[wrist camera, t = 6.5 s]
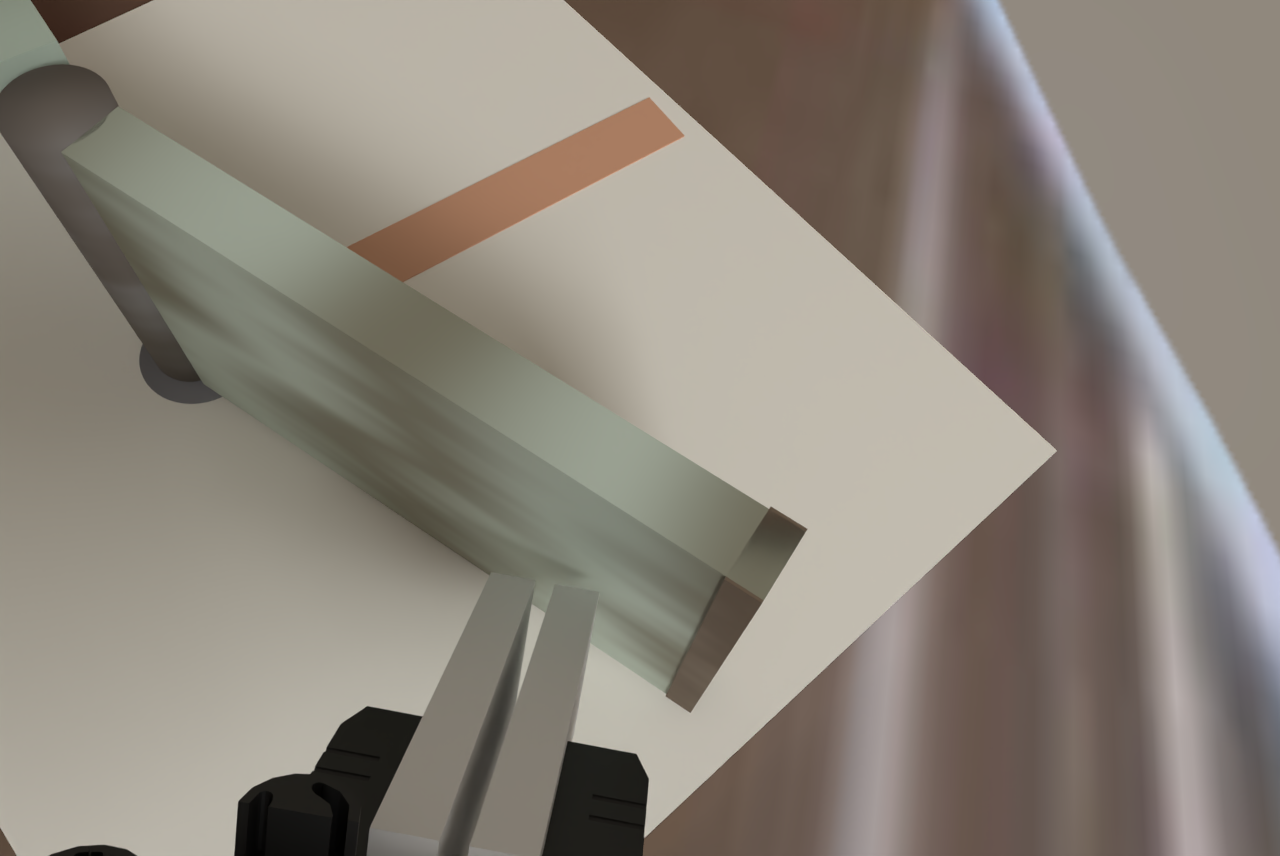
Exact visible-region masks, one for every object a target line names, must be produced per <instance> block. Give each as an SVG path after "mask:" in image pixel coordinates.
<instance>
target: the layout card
mask: <svg viewBox="0 0 1280 856" xmlns="http://www.w3.org/2000/svg"><path fill="white" fill-rule="evenodd" d="M59 45H60V47H61V49H62V51H63V53H64V54H65V56H66V58H67V60H68V62H69V64H70V65H75V66H80V67H84V68H86V69H89V70H91V71H93V72H95V73H97V74H98V75H99V76H101V77H102V78H103V79H104V80H105V81H106V83H107V84H108V86H109V88H110V90H111V92H112V94H113V95H114V97H115V99H116V101H117V103H118V105H119V107H120V108H122V109H124V110H125V111H127V112H128V113H130V114H132V115H133V116H135V117H136V118H138V119H140V120H141V121H143V122H145V123H146V124H148V125H149V126H151V127H153V128H154V129H156V130H157V131H159V132H161V133H162V134H164V135H166V136H167V137H169V138H170V139H172V140H174V141H175V142H177V143H178V144H180V145H182V146H183V147H185V148H187V149H188V150H190V151H191V152H193V153H195V154H196V155H198V156H199V157H201V158H203V159H204V160H206V161H208V162H209V163H211V164H212V165H214V166H216V167H217V168H219V169H220V170H222V171H224V172H225V173H227V174H229V175H230V176H232V177H233V178H235V179H237V180H238V181H240V182H242V183H243V184H245V185H246V186H248V187H250V188H251V189H253V190H254V191H256V192H258V193H259V194H261V195H263V196H264V197H266V198H267V199H269V200H271V201H272V202H274V203H275V204H277V205H279V206H280V207H282V208H284V209H285V210H287V211H288V212H290V213H292V214H293V215H295V216H296V217H298V218H300V219H301V220H303V221H305V222H306V223H308V224H309V225H311V226H313V227H314V228H316V229H317V230H319V231H321V232H322V233H324V234H326V235H327V236H329V237H330V238H332V239H334V240H335V241H337V242H338V243H340V244H342V245H343V246H345V247H347V248H348V249H350V250H351V251H353V252H355V253H356V254H358V255H359V256H361V257H363V258H364V259H366V260H368V261H369V262H371V263H372V264H374V265H376V266H377V267H379V268H380V269H382V270H384V271H385V272H387V273H389V274H390V275H392V276H393V277H395V278H397V279H398V280H400V281H401V282H403V283H405V284H406V285H408V286H410V287H411V288H413V289H414V290H416V291H418V292H419V293H421V294H422V295H424V296H426V297H427V298H429V299H431V300H432V301H434V302H435V303H437V304H439V305H440V306H442V307H444V308H445V309H447V310H448V311H450V312H452V313H453V314H455V315H456V316H458V317H460V318H461V319H463V320H465V321H466V322H468V323H469V324H471V325H473V326H474V327H476V328H477V329H479V330H481V331H482V332H484V333H486V334H487V335H489V336H490V337H492V338H494V339H495V340H497V341H498V342H500V343H502V344H503V345H505V346H507V347H508V348H510V349H511V350H513V351H515V352H516V353H518V354H519V355H521V356H523V357H524V358H526V359H528V360H529V361H531V362H532V363H534V364H536V365H537V366H539V367H540V368H542V369H544V370H545V371H547V372H549V373H550V374H552V375H553V376H555V377H557V378H558V379H560V380H561V381H563V382H565V383H566V384H568V385H570V386H571V387H573V388H574V389H576V390H578V391H579V392H581V393H582V394H584V395H586V396H587V397H589V398H591V399H592V400H594V401H595V402H597V403H599V404H600V405H602V406H603V407H605V408H607V409H608V410H610V411H612V412H613V413H615V414H616V415H618V416H620V417H621V418H623V419H625V420H626V421H628V422H629V423H631V424H633V425H634V426H636V427H637V428H639V429H641V430H642V431H644V432H646V433H647V434H649V435H650V436H652V437H654V438H655V439H657V440H658V441H660V442H662V443H663V444H665V445H667V446H668V447H670V448H671V449H673V450H675V451H676V452H678V453H679V454H681V455H683V456H684V457H686V458H688V459H689V460H691V461H692V462H694V463H696V464H697V465H699V466H700V467H702V468H704V469H705V470H707V471H709V472H710V473H712V474H713V475H715V476H717V477H718V478H720V479H721V480H723V481H725V482H726V483H728V484H730V485H731V486H733V487H734V488H736V489H738V490H739V491H741V492H742V493H744V494H746V495H747V496H749V497H751V498H752V499H754V500H755V501H757V502H759V503H760V504H762V505H763V506H765V507H767V508H768V509H769V508H770V507H773V508H774V509H776V510H778V511H779V512H781V513H783V514H784V515H786V516H787V517H789V518H791V519H792V520H794V521H795V522H797V523H799V524H800V525H802V526H804V527H805V528H807V531H806V532H805V534H804V536H803V537H802V539H801V541H800V542H799V544H798V546H797V547H796V549H795V550H794V552H793V554H792V555H791V557H790V559H789V560H788V562H787V563H786V565H785V567H784V568H783V570H782V572H781V573H780V575H779V577H778V578H777V580H776V581H775V583H774V585H773V586H772V588H771V590H770V591H769V593H768V594H767V596H766V598H765V599H764V601H763V603H762V604H761V606H760V607H759V609H758V610H757V612H756V613H755V615H754V616H753V618H752V620H751V621H750V623H749V624H748V626H747V627H746V629H745V630H744V632H743V633H742V635H741V636H740V638H739V639H738V641H737V643H736V644H735V646H734V647H733V649H732V650H731V652H730V653H729V655H728V656H727V658H726V659H725V661H724V662H723V664H722V666H721V667H720V669H719V670H718V672H717V673H716V675H715V676H714V678H713V679H712V681H711V682H710V684H709V685H708V687H707V689H706V690H705V692H704V693H703V695H702V696H701V698H700V699H699V701H698V702H697V704H696V705H695V707H694V708H693V710H692V711H691V713H690V712H688V711H687V710H685V709H684V708H682V707H681V706H679V705H678V704H676V703H675V702H673V701H672V700H670V699H669V698H667V697H666V693H664V692H663V691H661V690H660V689H658V688H657V687H655V686H654V685H652V684H651V683H649V682H648V681H646V680H645V679H643V678H642V677H640V676H639V675H637V674H636V673H634V672H633V671H631V670H630V669H628V668H627V667H625V666H624V665H622V664H621V663H619V662H618V661H616V660H615V659H613V658H612V657H610V656H609V655H607V654H606V653H604V652H603V651H601V650H600V649H598V648H597V647H595V646H594V645H592V644H591V643H590V647H589V653H588V658H587V664H586V670H585V675H584V681H583V686H582V692H581V697H580V703H579V709H578V714H577V720H576V725H575V731H574V736H573V740H572V742H576V743H581V744H587V745H592V746H597V747H603V748H608V749H613V750H619V751H624V752H629V753H635V754H637V756H638V758H639V760H640V762H641V764H642V766H643V768H644V770H645V772H646V774H647V776H648V778H649V785H648V797H647V806H646V820H645V828H644V831H645V832H644V838H645V837H646V836H647V835H648V834H649V833H650V832H651V831H652V830H653V829H654V828H656V827H657V826H658V825H659V824H660V823H661V822H662V821H663V820H664V819H665V818H666V817H667V816H668V815H669V814H670V813H671V812H673V811H674V810H675V809H676V808H677V807H678V806H679V805H680V804H681V803H682V802H683V801H684V800H685V799H686V798H687V797H689V796H690V795H691V794H692V793H693V792H694V791H695V790H696V789H697V788H698V787H699V786H700V785H701V784H702V783H703V782H705V781H706V780H707V779H708V778H709V777H710V776H711V775H712V774H713V773H714V772H715V771H716V770H717V769H718V768H719V767H721V766H722V765H723V764H724V763H725V762H726V761H727V760H728V759H729V758H730V757H731V756H732V755H733V754H734V753H735V752H737V751H738V750H739V749H740V748H741V747H742V746H743V745H744V744H745V743H746V742H747V741H748V740H749V739H750V738H751V737H753V736H754V735H755V734H756V733H757V732H758V731H759V730H760V729H761V728H762V727H763V726H764V725H765V724H766V723H767V722H769V721H770V720H771V719H772V718H773V717H774V716H775V715H776V714H777V713H778V712H779V711H780V710H781V709H782V708H783V707H785V706H786V705H787V704H788V703H789V702H790V701H791V700H792V699H793V698H794V697H795V696H796V695H797V694H798V693H799V692H801V691H802V690H803V689H804V688H805V687H806V686H807V685H808V684H809V683H810V682H811V681H812V680H813V679H814V678H815V677H816V676H818V675H819V674H820V673H821V672H822V671H823V670H824V669H825V668H826V667H827V666H828V665H829V664H830V663H831V662H832V661H834V660H835V659H836V658H837V657H838V656H839V655H840V654H841V653H842V652H843V651H844V650H845V649H846V648H847V647H848V646H850V645H851V644H852V643H853V642H854V641H855V640H856V639H857V638H858V637H859V636H860V635H861V634H862V633H863V632H864V631H866V630H867V629H868V628H869V627H870V626H871V625H872V624H873V623H874V622H875V621H876V620H877V619H878V618H879V617H880V616H882V615H883V614H884V613H885V612H886V611H887V610H888V609H889V608H890V607H891V606H892V605H893V604H894V603H895V602H896V601H898V600H899V599H900V598H901V597H902V596H903V595H904V594H905V593H906V592H907V591H908V590H909V589H910V588H911V587H912V586H914V585H915V584H916V583H917V582H918V581H919V580H920V579H921V578H922V577H923V576H924V575H925V574H926V573H927V572H928V571H930V570H931V569H932V568H933V567H934V566H935V565H936V564H937V563H938V562H939V561H940V560H941V559H942V558H943V557H944V556H946V555H947V554H948V553H949V552H950V551H951V550H952V549H953V548H954V547H955V546H956V545H957V544H958V543H959V542H960V541H961V540H963V539H964V538H965V537H966V536H967V535H968V534H969V533H970V532H971V531H972V530H973V529H974V528H975V527H976V526H977V525H979V524H980V523H981V522H982V521H983V520H984V519H985V518H986V517H987V516H988V515H989V514H990V513H991V512H992V511H993V510H995V509H996V508H997V507H998V506H999V505H1000V504H1001V503H1002V502H1003V501H1004V500H1005V499H1006V498H1007V497H1008V496H1009V495H1011V494H1012V493H1013V492H1014V491H1015V490H1016V489H1017V488H1018V487H1019V486H1020V485H1021V484H1022V483H1023V482H1024V481H1025V480H1027V479H1028V478H1029V477H1030V476H1031V475H1032V474H1033V473H1034V472H1035V471H1036V470H1037V469H1038V468H1039V467H1040V466H1041V465H1043V464H1044V463H1045V462H1046V461H1047V460H1048V459H1049V458H1050V457H1051V456H1052V455H1053V454H1054V453H1055V452H1056V451H1057V450H1056V449H1055V448H1053V447H1052V446H1051V445H1050V444H1049V443H1048V442H1047V441H1046V440H1045V439H1044V438H1042V437H1041V436H1040V435H1039V434H1038V433H1037V432H1036V431H1035V430H1034V429H1033V428H1032V427H1030V426H1029V425H1028V424H1027V423H1026V422H1025V421H1024V420H1023V419H1022V418H1021V417H1019V416H1018V415H1017V414H1016V413H1015V412H1014V411H1013V410H1012V409H1011V408H1010V407H1009V406H1007V405H1006V404H1005V403H1004V402H1003V401H1002V400H1001V399H1000V398H999V397H998V396H996V395H995V394H994V393H993V392H992V391H991V390H990V389H989V388H988V387H987V386H986V385H984V384H983V383H982V382H981V381H980V380H979V379H978V378H977V377H976V376H975V375H973V374H972V373H971V372H970V371H969V370H968V369H967V368H966V367H965V366H964V365H963V364H961V363H960V362H959V361H958V360H957V359H956V358H955V357H954V356H953V355H952V354H950V353H949V352H948V351H947V350H946V349H945V348H944V347H943V346H942V345H941V344H940V343H938V342H937V341H936V340H935V339H934V338H933V337H932V336H931V335H930V334H929V333H927V332H926V331H925V330H924V329H923V328H922V327H921V326H920V325H919V324H918V323H917V322H915V321H914V320H913V319H912V318H911V317H910V316H909V315H908V314H907V313H906V312H904V311H903V310H902V309H901V308H900V307H899V306H898V305H897V304H896V303H895V302H894V301H892V300H891V299H890V298H889V297H888V296H887V295H886V294H885V293H884V292H883V291H881V290H880V289H879V288H878V287H877V286H876V285H875V284H874V283H873V282H872V281H871V280H869V279H868V278H867V277H866V276H865V275H864V274H863V273H862V272H861V271H860V270H858V269H857V268H856V267H855V266H854V265H853V264H852V263H851V262H850V261H849V260H848V259H846V258H845V257H844V256H843V255H842V254H841V253H840V252H839V251H838V250H837V249H835V248H834V247H833V246H832V245H831V244H830V243H829V242H828V241H827V240H826V239H825V238H823V237H822V236H821V235H820V234H819V233H818V232H817V231H816V230H815V229H814V228H812V227H811V226H810V225H809V224H808V223H807V222H806V221H805V220H804V219H803V218H802V217H800V216H799V215H798V214H797V213H796V212H795V211H794V210H793V209H792V208H791V207H789V206H788V205H787V204H786V203H785V202H784V201H783V200H782V199H781V198H780V197H779V196H777V195H776V194H775V193H774V192H773V191H772V190H771V189H770V188H769V187H768V186H766V185H765V184H764V183H763V182H762V181H761V180H760V179H759V178H758V177H757V176H756V175H754V174H753V173H752V172H751V171H750V170H749V169H748V168H747V167H746V166H745V165H743V164H742V163H741V162H740V161H739V160H738V159H737V158H736V157H735V156H734V155H733V154H731V153H730V152H729V151H728V150H727V149H726V148H725V147H724V146H723V145H722V144H720V143H719V142H718V141H717V140H716V139H715V138H714V137H713V136H712V135H711V134H710V133H708V132H707V131H706V130H705V129H704V128H703V127H702V126H701V125H700V124H699V123H697V122H696V121H695V120H694V119H693V118H692V117H691V116H690V115H689V114H688V113H687V112H685V111H684V110H683V109H682V108H681V107H680V106H679V105H678V104H677V103H676V102H674V101H673V100H672V99H671V98H670V97H669V96H668V95H667V94H666V93H665V92H664V91H662V90H661V89H660V88H659V87H658V86H657V85H656V84H655V83H654V82H653V81H651V80H650V79H649V78H648V77H647V76H646V75H645V74H644V73H643V72H642V71H641V70H639V69H638V68H637V67H636V66H635V65H634V64H633V63H632V62H631V61H630V60H628V59H627V58H626V57H625V56H624V55H623V54H622V53H621V52H620V51H619V50H618V49H616V48H615V47H614V46H613V45H612V44H611V43H610V42H609V41H608V40H607V39H605V38H604V37H603V36H602V35H601V34H600V33H599V32H598V31H597V30H596V29H595V28H593V27H592V26H591V25H590V24H589V23H588V22H587V21H586V20H585V19H584V18H582V17H581V16H580V15H579V14H578V13H577V12H576V11H575V10H574V9H573V8H572V7H570V6H569V5H568V4H567V3H566V2H565V1H564V0H153V1H151V2H149V3H147V4H144V5H142V6H140V7H138V8H136V9H133V10H131V11H129V12H127V13H125V14H123V15H120V16H118V17H116V18H114V19H112V20H109V21H107V22H105V23H103V24H101V25H98V26H96V27H94V28H92V29H90V30H88V31H85V32H83V33H81V34H79V35H77V36H74V37H72V38H70V39H68V40H66V41H63V42H61V43H59ZM488 578H489V575H488V574H486V573H485V572H483V571H482V570H481V569H479V568H478V567H476V566H475V565H473V564H472V563H470V562H469V561H467V560H466V559H464V558H463V557H461V556H460V555H458V554H457V553H455V552H454V551H452V550H451V549H449V548H448V547H446V546H445V545H443V544H442V543H440V542H439V541H437V540H436V539H434V538H433V537H431V536H430V535H428V534H427V533H425V532H424V531H422V530H421V529H419V528H418V527H416V526H415V525H413V524H412V523H410V522H409V521H407V520H406V519H404V518H403V517H401V516H400V515H398V514H397V513H395V512H394V511H392V510H391V509H389V508H388V507H386V506H385V505H383V504H382V503H380V502H379V501H377V500H376V499H375V498H373V497H372V496H370V495H369V494H367V493H366V492H364V491H363V490H361V489H360V488H358V487H357V486H355V485H354V484H352V483H351V482H349V481H348V480H346V479H345V478H343V477H342V476H340V475H339V474H337V473H336V472H334V471H333V470H331V469H330V468H328V467H327V466H325V465H324V464H322V463H321V462H319V461H318V460H316V459H315V458H313V457H312V456H310V455H309V454H307V453H306V452H304V451H303V450H301V449H300V448H298V447H297V446H295V445H294V444H292V443H291V442H289V441H288V440H286V439H285V438H283V437H282V436H280V435H279V434H277V433H276V432H274V431H273V430H271V429H270V428H269V427H267V426H266V425H264V424H263V423H261V422H260V421H258V420H257V419H255V418H254V417H252V416H251V415H249V414H248V413H246V412H245V411H243V410H242V409H240V408H239V407H237V406H236V405H234V404H233V403H231V402H230V401H228V400H227V399H225V398H224V397H222V396H221V395H219V394H218V393H216V392H215V391H213V390H212V389H210V388H209V387H207V386H206V385H204V384H203V382H202V381H194V382H185V381H179V380H175V379H173V378H171V377H169V376H167V375H166V374H164V373H163V372H162V371H161V370H160V369H159V367H158V366H157V364H156V363H155V361H154V360H153V358H152V357H151V355H150V354H149V352H148V351H147V349H146V348H145V346H144V345H143V343H142V342H141V341H140V339H139V338H138V336H137V335H136V333H135V332H134V330H133V329H132V327H131V326H130V324H129V323H128V321H127V320H126V318H125V317H124V315H123V314H122V312H121V311H120V309H119V308H118V306H117V305H116V303H115V302H114V301H113V299H112V298H111V296H110V295H109V293H108V292H107V290H106V289H105V287H104V286H103V284H102V283H101V281H100V280H99V278H98V277H97V275H96V274H95V272H94V271H93V269H92V268H91V266H90V265H89V263H88V262H87V261H86V259H85V258H84V256H83V255H82V253H81V252H80V250H79V249H78V247H77V246H76V244H75V243H74V241H73V240H72V238H71V237H70V235H69V234H68V232H67V231H66V229H65V228H64V226H63V225H62V223H61V222H60V220H59V219H58V218H57V216H56V215H55V213H54V212H53V210H52V209H51V207H50V206H49V204H48V203H47V201H46V200H45V198H44V197H43V195H42V194H41V192H40V191H39V189H38V188H37V186H36V185H35V183H34V182H33V180H32V179H31V178H30V176H29V175H28V173H27V172H26V170H25V169H24V167H23V166H22V164H21V163H20V161H19V160H18V158H17V157H16V155H15V154H14V152H13V151H12V149H11V148H10V146H9V145H8V143H7V142H6V140H5V139H4V138H3V136H2V135H1V133H0V828H1V830H2V831H3V833H4V835H5V836H6V838H7V840H8V841H9V843H10V845H11V846H12V848H13V850H14V851H15V853H16V855H17V856H49V855H51V854H53V853H57V852H60V851H63V850H67V849H70V848H74V847H77V846H89V845H109V846H114V847H119V848H123V849H127V850H129V851H130V852H132V853H134V854H135V855H137V856H234V851H235V837H236V823H237V809H238V801H239V800H240V799H241V798H242V797H243V796H244V795H245V794H246V793H247V792H248V791H249V790H250V789H251V788H252V787H254V786H256V785H258V784H261V783H263V782H265V781H267V780H269V779H271V778H274V777H280V776H285V775H290V774H295V773H297V774H311V772H312V771H314V769H315V765H316V764H317V762H318V760H319V759H320V757H321V756H322V754H323V752H325V751H326V748H327V746H328V744H329V742H330V741H331V739H332V737H333V736H334V734H335V732H336V731H337V729H338V727H339V726H340V724H341V723H343V722H344V721H346V720H347V719H349V718H350V717H352V716H353V715H355V714H356V713H358V712H359V711H361V710H362V709H364V708H365V707H367V706H370V707H375V708H381V709H386V710H391V711H397V712H402V713H407V714H413V715H418V716H423V715H424V712H425V710H426V708H427V706H428V704H429V702H430V700H431V698H432V696H433V694H434V691H435V689H436V687H437V685H438V683H439V681H440V679H441V677H442V675H443V672H444V670H445V668H446V666H447V664H448V662H449V660H450V658H451V656H452V654H453V651H454V649H455V647H456V645H457V643H458V641H459V639H460V637H461V635H462V632H463V630H464V628H465V626H466V624H467V622H468V620H469V618H470V616H471V614H472V611H473V609H474V607H475V605H476V603H477V601H478V599H479V597H480V595H481V593H482V590H483V588H484V586H485V584H486V582H487V580H488ZM544 616H545V612H543V611H542V610H540V609H539V608H537V607H536V606H534V605H533V604H532V606H531V612H530V618H529V624H528V631H527V637H526V643H525V650H524V656H523V662H522V669H521V675H520V681H519V687H518V694H517V699H518V696H519V693H520V690H521V687H522V684H523V681H524V678H525V675H526V671H527V668H528V665H529V662H530V659H531V656H532V653H533V650H534V647H535V644H536V641H537V638H538V635H539V632H540V629H541V625H542V622H543V619H544ZM516 702H517V700H516Z"/></svg>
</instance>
